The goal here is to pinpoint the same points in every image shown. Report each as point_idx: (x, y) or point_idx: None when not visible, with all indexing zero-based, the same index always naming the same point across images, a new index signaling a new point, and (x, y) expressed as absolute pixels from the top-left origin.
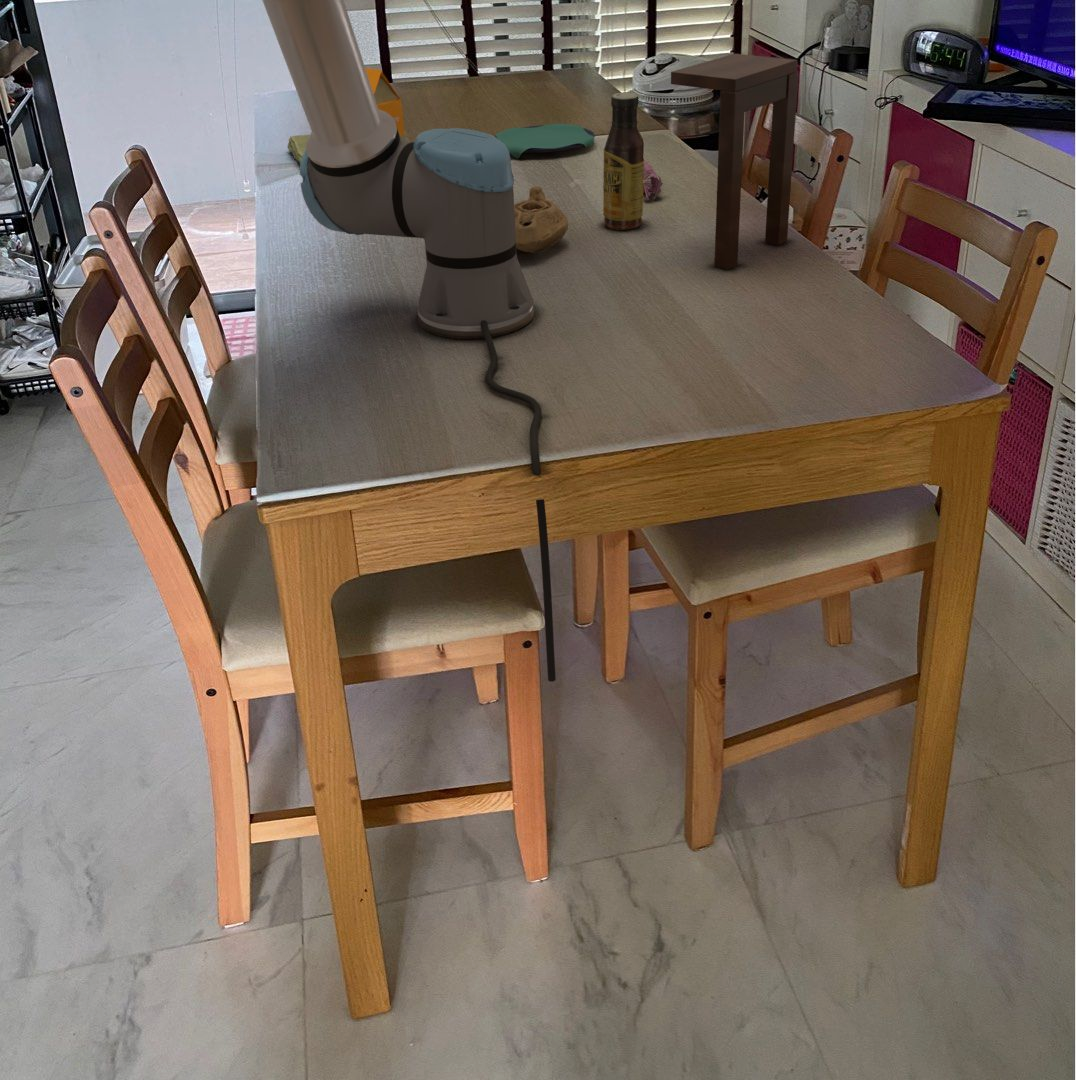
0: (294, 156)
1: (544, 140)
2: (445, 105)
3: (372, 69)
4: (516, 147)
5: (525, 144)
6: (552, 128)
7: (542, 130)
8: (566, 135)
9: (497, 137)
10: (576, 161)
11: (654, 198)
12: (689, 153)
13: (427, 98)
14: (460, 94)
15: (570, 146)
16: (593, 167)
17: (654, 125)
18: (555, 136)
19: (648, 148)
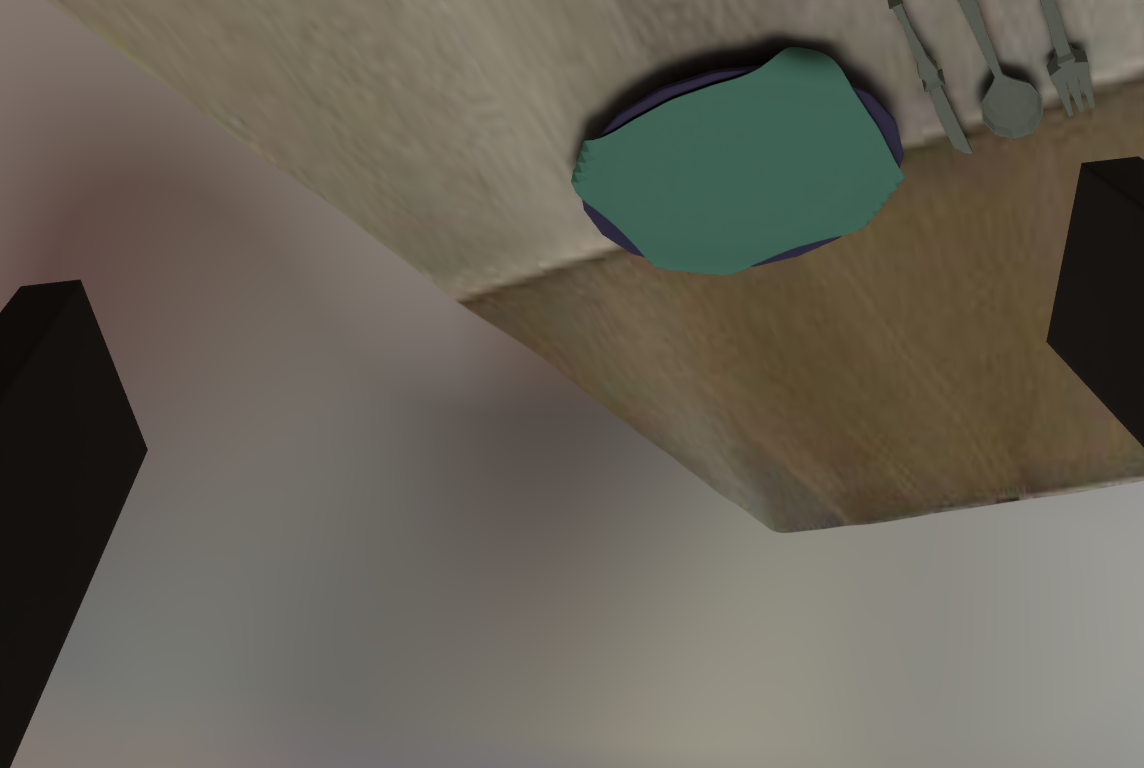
0: None
1: (734, 169)
2: (1073, 381)
3: None
4: (804, 74)
5: (789, 133)
6: (736, 251)
7: (765, 240)
8: (680, 216)
9: (892, 158)
10: (584, 52)
11: None
12: (271, 162)
13: None
14: (1035, 432)
15: (621, 115)
16: (498, 3)
17: (492, 324)
18: (711, 204)
19: (415, 184)
